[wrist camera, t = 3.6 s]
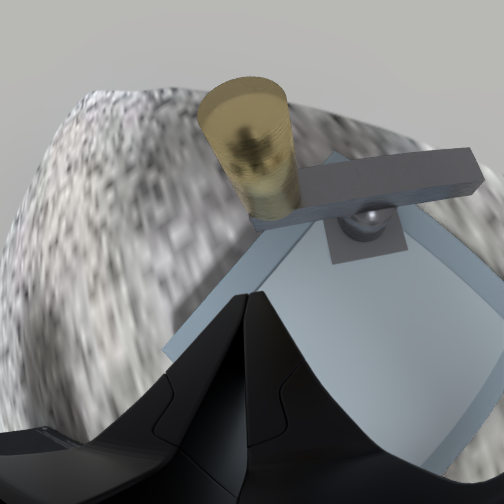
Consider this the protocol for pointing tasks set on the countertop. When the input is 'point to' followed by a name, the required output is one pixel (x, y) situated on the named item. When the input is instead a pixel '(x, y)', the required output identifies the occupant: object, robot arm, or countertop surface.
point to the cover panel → (382, 326)
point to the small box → (34, 442)
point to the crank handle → (318, 167)
